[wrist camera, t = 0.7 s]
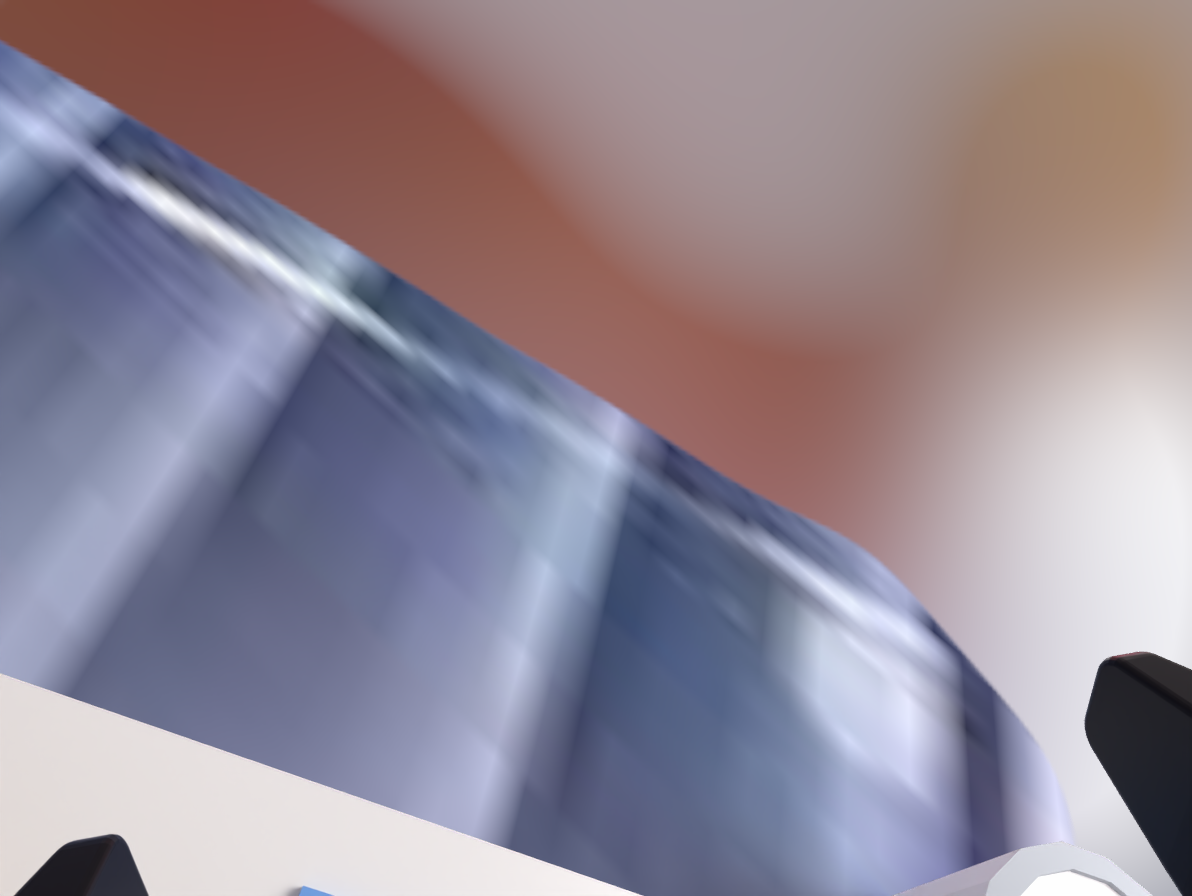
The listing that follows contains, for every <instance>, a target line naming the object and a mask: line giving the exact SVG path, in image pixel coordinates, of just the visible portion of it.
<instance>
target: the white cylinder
mask: <svg viewBox="0 0 1192 896" xmlns="http://www.w3.org/2000/svg"><path fill="white" fill-rule="evenodd" d="M893 896H1152V895H1151V894H1150V893H1149V892H1148V891H1147V890H1145V889H1144V888H1143V887H1142V886H1141V885H1139V884H1138V883H1137V882H1136V881H1135V880H1133V879H1132V878H1131V877H1130V876H1129V875H1127V874H1126V873H1125V872H1124V871H1122V870H1121V869H1120V868H1119V867H1118V866H1116V865H1115V864H1114V863H1113V862H1112V861H1111V860H1109V859H1108V858H1107V857H1104V856H1101V855H1099V854H1096V853H1093V852H1090V851H1087V850H1085V849H1082V848H1079V847H1076V846H1074V845H1071V844H1068V843H1065V842H1062V841H1060V842H1055V843H1049V844H1043V845H1038V846H1032V847H1027V848H1021V849H1018V850H1016V851H1013V852H1010V853H1007V854H1005V855H1002V856H999V857H996V858H994V859H991V860H988V861H986V862H983V863H980V864H977V865H975V866H972V867H969V868H966V869H964V870H961V871H958V872H956V873H953V874H950V875H947V876H945V877H942V878H939V879H936V880H934V881H931V882H928V883H926V884H923V885H920V886H917V887H915V888H912V889H909V890H906V891H904V892H901V893H898V894H896V895H893Z"/></svg>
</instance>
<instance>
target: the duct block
mask: <svg viewBox="0 0 1192 896" xmlns="http://www.w3.org/2000/svg"><path fill="white" fill-rule="evenodd" d="M108 834H118V835H120V836H121V837H122V838H124V839H125V841H126V843H127V844H128V846H129V849H130V851H131V854H132V856H133V858H134V861H135V863H136V866H137V868H138V870H139V873H140V875H141V878H142V880H143V882H144V885H145V887H146V890H147V892H148V895H149V896H642V895H639V894H636V893H633V892H630V891H627V890H625V889H622V888H619V887H616V886H613V885H610V884H607V883H604V882H601V881H599V880H596V879H593V878H590V877H587V876H584V875H581V874H578V873H575V872H573V871H570V870H567V869H564V868H561V867H558V866H555V865H552V864H549V863H547V862H544V861H541V860H538V859H535V858H532V857H529V856H526V855H523V854H521V853H518V852H515V851H512V850H509V849H506V848H503V847H500V846H497V845H495V844H492V843H489V842H486V841H483V840H480V839H477V838H474V837H471V836H468V835H466V834H463V833H460V832H457V831H454V830H451V829H448V828H445V827H442V826H440V825H437V824H434V823H431V822H428V821H425V820H422V819H419V818H416V817H414V816H411V815H408V814H405V813H402V812H399V811H396V810H393V809H390V808H388V807H385V806H382V805H379V804H376V803H373V802H370V801H367V800H364V799H362V798H359V797H356V796H353V795H350V794H347V793H344V792H341V791H338V790H336V789H333V788H330V787H327V786H324V785H321V784H318V783H315V782H312V781H310V780H307V779H304V778H301V777H298V776H295V775H292V774H289V773H286V772H284V771H281V770H278V769H275V768H272V767H269V766H266V765H263V764H260V763H258V762H255V761H252V760H249V759H246V758H243V757H240V756H237V755H234V754H232V753H229V752H226V751H223V750H220V749H217V748H214V747H211V746H208V745H206V744H203V743H200V742H197V741H194V740H191V739H188V738H185V737H182V736H180V735H177V734H174V733H171V732H168V731H165V730H162V729H159V728H156V727H153V726H151V725H148V724H145V723H142V722H139V721H136V720H133V719H130V718H127V717H125V716H122V715H119V714H116V713H113V712H110V711H107V710H104V709H101V708H99V707H96V706H93V705H90V704H87V703H84V702H81V701H78V700H75V699H73V698H70V697H67V696H64V695H61V694H58V693H55V692H52V691H49V690H47V689H44V688H41V687H38V686H35V685H32V684H29V683H26V682H23V681H21V680H18V679H15V678H12V677H9V676H6V675H3V674H0V896H14V895H15V893H16V892H17V891H18V890H19V889H20V888H21V887H22V886H23V885H24V884H25V883H26V882H27V881H28V880H29V879H30V878H31V877H32V876H33V875H34V874H35V873H36V872H37V871H38V869H39V868H40V867H41V866H42V865H43V864H44V863H45V862H46V861H47V860H48V859H49V858H50V857H51V856H52V855H53V854H54V853H55V852H56V851H57V850H58V849H59V848H60V847H62V846H63V845H65V844H66V843H69V842H71V841H74V840H80V839H85V838H91V837H97V836H102V835H108Z"/></svg>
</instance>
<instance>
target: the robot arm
mask: <svg viewBox="0 0 1192 896" xmlns="http://www.w3.org/2000/svg"><path fill="white" fill-rule="evenodd" d="M1085 731H1086V736H1087V738H1088V741H1089V744H1090V746H1091V748H1092V749H1093V751H1094V753H1095V754H1096V756H1097V757H1098V759H1099V761H1100V763H1101V764H1102V766H1103V768H1104V769H1105V771H1106V773H1107V774H1108V776H1109V777H1110V779H1111V780H1112V782H1113V784H1114V786H1115V787H1116V789H1117V791H1118V792H1119V794H1120V795H1121V797H1122V799H1123V801H1124V802H1125V804H1126V805H1127V807H1128V809H1129V810H1130V812H1131V814H1132V815H1133V817H1134V819H1135V820H1136V822H1137V824H1138V825H1139V827H1140V828H1141V830H1142V832H1143V833H1144V835H1145V837H1146V838H1147V840H1148V842H1149V843H1150V845H1151V847H1152V848H1153V850H1154V852H1155V853H1156V855H1157V857H1158V858H1159V860H1160V861H1161V863H1162V865H1163V866H1164V868H1165V870H1166V871H1167V873H1168V874H1169V876H1170V877H1171V879H1172V881H1173V882H1174V884H1175V885H1176V887H1177V888H1178V890H1179V891H1180V893H1181V894H1182V896H1192V670H1191V669H1189V668H1186V667H1184V666H1182V665H1179V664H1177V663H1174V662H1172V661H1170V660H1167V659H1165V658H1163V657H1160V656H1158V655H1156V654H1153V653H1149V652H1134V653H1129V654H1123V655H1117V656H1112V657H1109V658H1106V659H1105V660H1104V661H1103V662H1102V663H1101V664H1100V666H1099V668H1098V671H1097V675H1096V678H1095V682H1094V686H1093V690H1092V693H1091V697H1090V701H1089V704H1088V709H1087V712H1086V716H1085ZM14 896H149V895H148V892H147V890H146V887H145V885H144V882H143V880H142V878H141V875H140V873H139V870H138V868H137V866H136V863H135V861H134V858H133V856H132V854H131V851H130V849H129V846H128V844H127V843H126V841H125V839H124V838H122V837H121V836H120V835H118V834H108V835H102V836H97V837H91V838H85V839H80V840H74V841H71V842H69V843H66V844H65V845H63V846H62V847H60V848H59V849H58V850H57V851H56V852H55V853H54V854H53V855H52V856H51V857H50V858H49V859H48V860H47V861H46V862H45V863H44V864H43V865H42V866H41V867H40V868H39V869H38V871H37V872H36V873H35V874H34V875H33V876H32V877H31V878H30V879H29V880H28V881H27V882H26V883H25V884H24V885H23V886H22V887H21V888H20V889H19V890H18V891H17V892H16V893H15V895H14Z"/></svg>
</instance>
